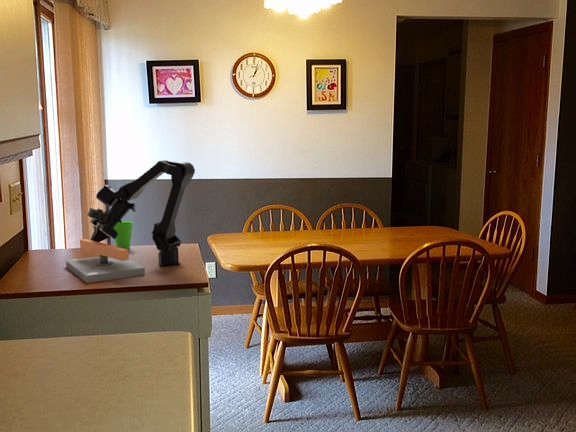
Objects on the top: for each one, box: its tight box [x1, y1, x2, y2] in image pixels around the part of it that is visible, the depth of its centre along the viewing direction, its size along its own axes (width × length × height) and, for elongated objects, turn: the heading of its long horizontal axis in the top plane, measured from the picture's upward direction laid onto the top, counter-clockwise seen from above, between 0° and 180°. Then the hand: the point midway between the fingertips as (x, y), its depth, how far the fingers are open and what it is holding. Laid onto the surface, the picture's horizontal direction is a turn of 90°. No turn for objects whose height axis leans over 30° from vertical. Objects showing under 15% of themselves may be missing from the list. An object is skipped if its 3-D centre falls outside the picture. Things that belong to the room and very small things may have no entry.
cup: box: [114, 221, 134, 251], centre depth 258 cm, size 9×9×11 cm
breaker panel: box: [65, 255, 146, 284], centre depth 221 cm, size 20×28×3 cm
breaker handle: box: [79, 238, 129, 264], centre depth 220 cm, size 3×30×7 cm, turn 46°
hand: (88, 245), depth 229 cm, fingers closed, pressing on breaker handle
